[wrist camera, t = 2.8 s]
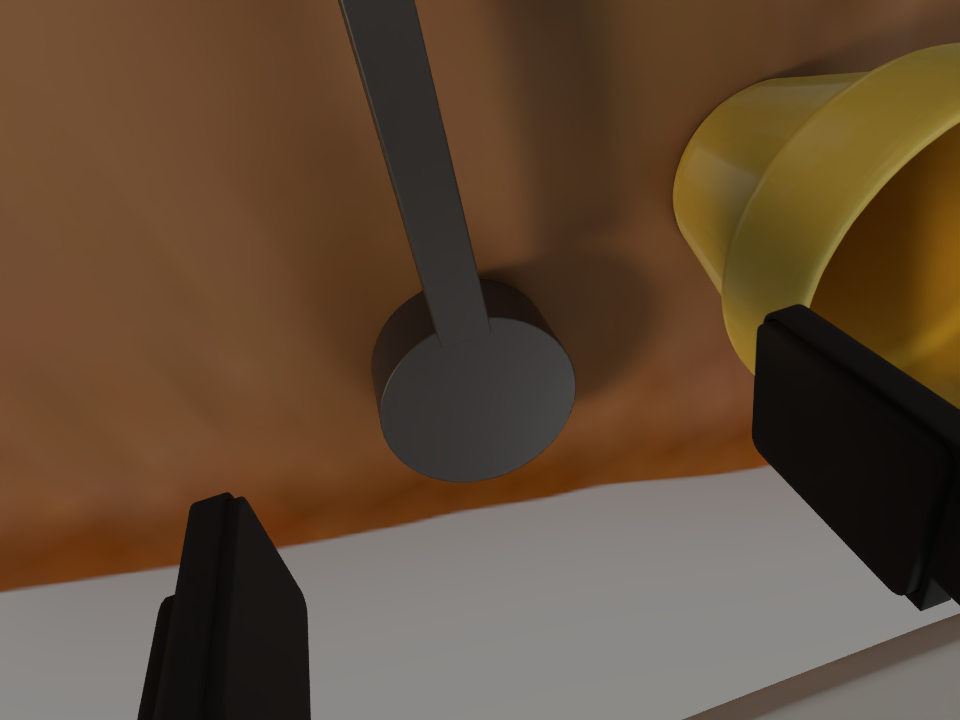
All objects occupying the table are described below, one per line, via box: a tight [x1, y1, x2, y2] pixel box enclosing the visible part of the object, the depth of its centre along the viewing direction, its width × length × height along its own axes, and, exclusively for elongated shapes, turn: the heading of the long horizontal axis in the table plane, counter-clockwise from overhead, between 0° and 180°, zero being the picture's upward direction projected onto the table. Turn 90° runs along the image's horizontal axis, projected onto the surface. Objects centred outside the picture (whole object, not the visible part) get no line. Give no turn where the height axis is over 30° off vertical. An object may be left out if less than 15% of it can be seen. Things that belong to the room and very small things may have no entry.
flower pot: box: [673, 43, 960, 409], centre depth 20 cm, size 10×10×10 cm
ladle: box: [338, 0, 576, 482], centre depth 19 cm, size 21×7×4 cm, turn 12°
